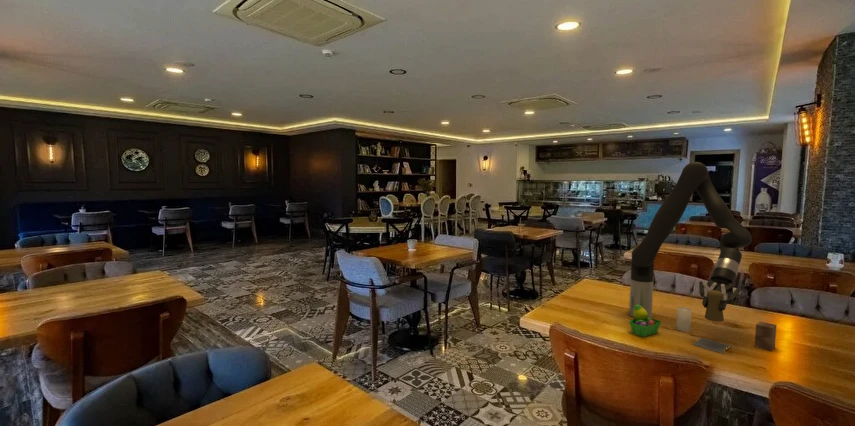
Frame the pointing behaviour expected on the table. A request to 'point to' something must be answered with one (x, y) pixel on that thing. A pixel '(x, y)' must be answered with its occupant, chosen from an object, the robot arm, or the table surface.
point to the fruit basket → (643, 322)
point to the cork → (714, 306)
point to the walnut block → (765, 336)
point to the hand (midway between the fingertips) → (712, 308)
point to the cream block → (683, 319)
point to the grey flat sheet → (711, 345)
